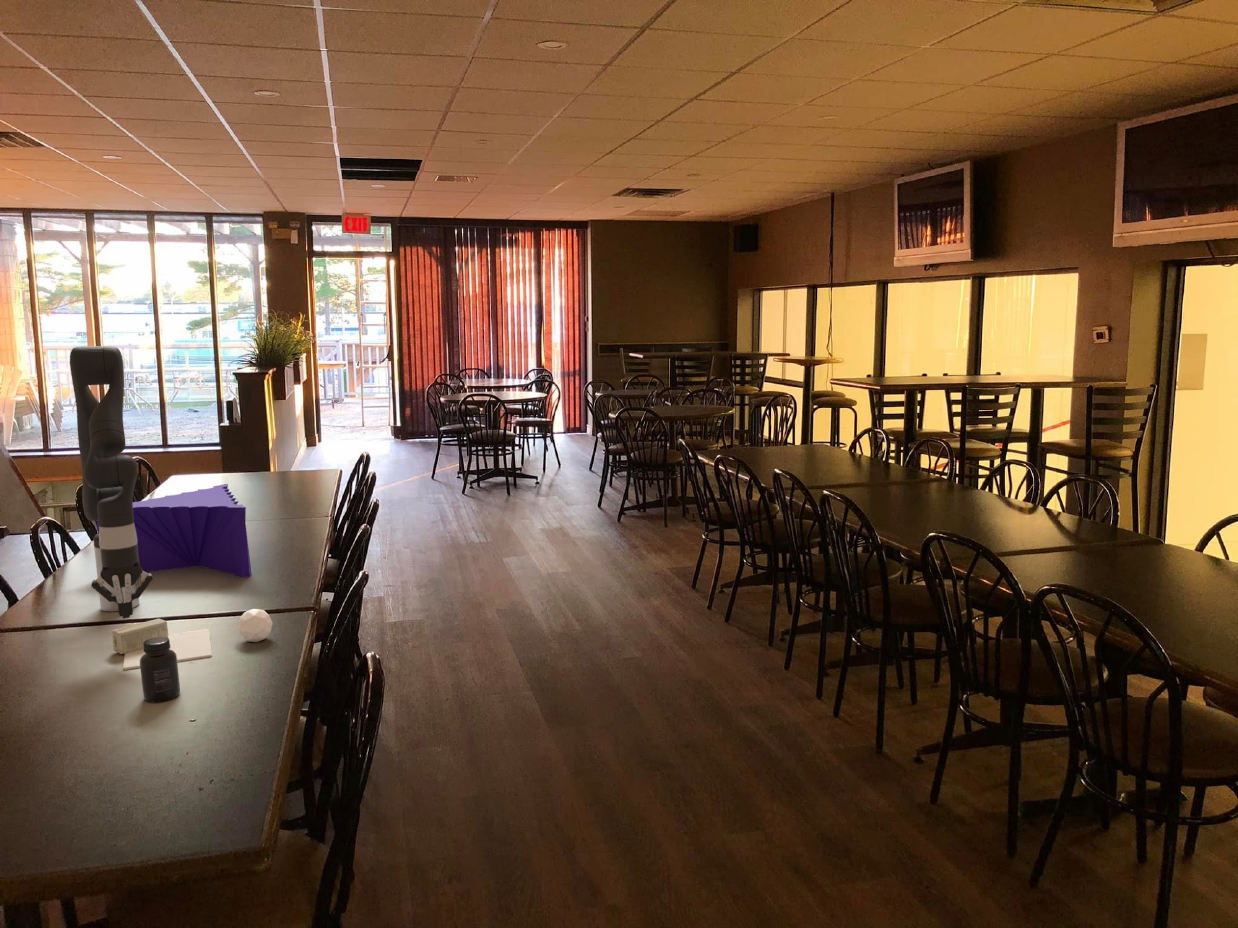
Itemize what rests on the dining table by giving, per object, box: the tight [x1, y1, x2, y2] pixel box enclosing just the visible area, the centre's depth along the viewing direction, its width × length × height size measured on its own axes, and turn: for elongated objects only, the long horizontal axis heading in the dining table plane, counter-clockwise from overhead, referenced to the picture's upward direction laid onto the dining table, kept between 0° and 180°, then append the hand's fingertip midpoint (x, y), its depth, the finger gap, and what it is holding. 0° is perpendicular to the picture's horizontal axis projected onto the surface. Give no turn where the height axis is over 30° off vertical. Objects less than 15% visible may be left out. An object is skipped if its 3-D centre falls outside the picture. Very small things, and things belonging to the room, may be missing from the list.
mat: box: [122, 628, 213, 671], centre depth 219 cm, size 20×18×1 cm
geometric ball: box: [236, 608, 273, 643], centre depth 224 cm, size 8×8×8 cm
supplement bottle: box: [139, 637, 181, 703], centre depth 191 cm, size 7×7×12 cm
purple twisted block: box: [95, 483, 253, 579], centre depth 297 cm, size 40×45×21 cm
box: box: [111, 618, 169, 655], centre depth 220 cm, size 5×4×11 cm
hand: (126, 617), depth 214 cm, fingers closed
